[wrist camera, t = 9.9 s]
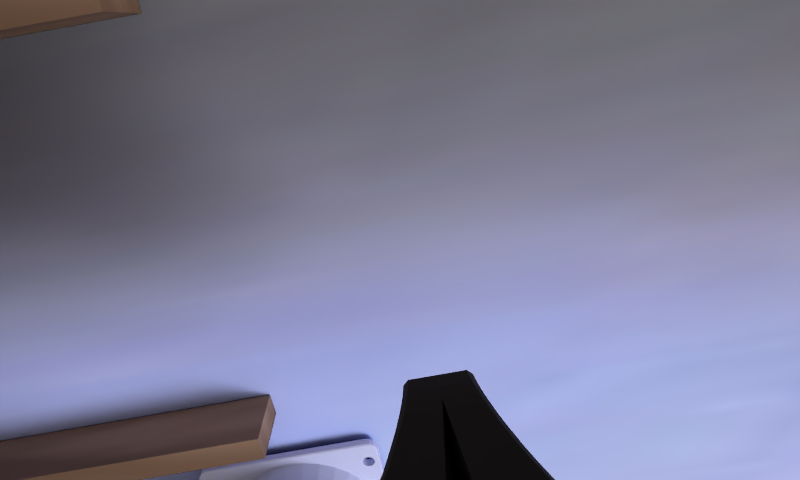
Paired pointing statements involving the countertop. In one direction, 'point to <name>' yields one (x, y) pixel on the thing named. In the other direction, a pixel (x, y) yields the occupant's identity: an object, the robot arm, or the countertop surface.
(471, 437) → the robot arm
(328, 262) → the countertop surface
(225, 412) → the wooden bracket
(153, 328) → the countertop surface
